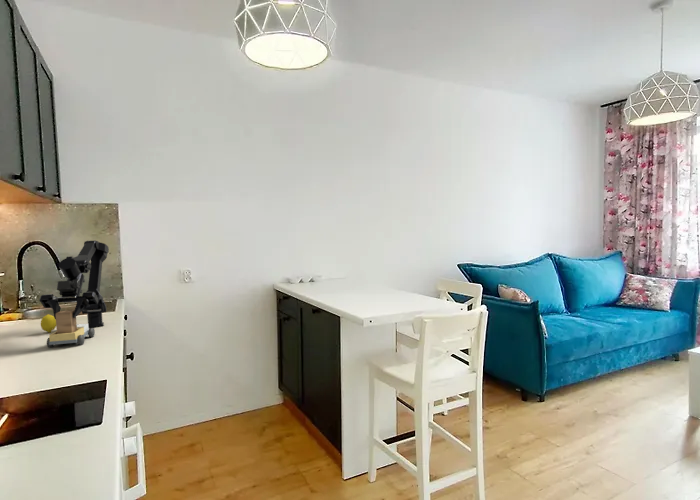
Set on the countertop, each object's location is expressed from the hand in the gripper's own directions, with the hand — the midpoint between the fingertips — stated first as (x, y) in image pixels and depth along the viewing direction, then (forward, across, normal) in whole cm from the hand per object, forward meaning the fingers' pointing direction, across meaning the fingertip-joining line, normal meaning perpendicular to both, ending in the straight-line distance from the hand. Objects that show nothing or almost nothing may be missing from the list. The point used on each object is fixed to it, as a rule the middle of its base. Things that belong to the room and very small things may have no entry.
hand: (64, 318), depth 161 cm
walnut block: (+5, 0, +6) cm, 8 cm away
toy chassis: (+4, 0, +11) cm, 12 cm away
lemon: (-10, -16, +26) cm, 32 cm away
